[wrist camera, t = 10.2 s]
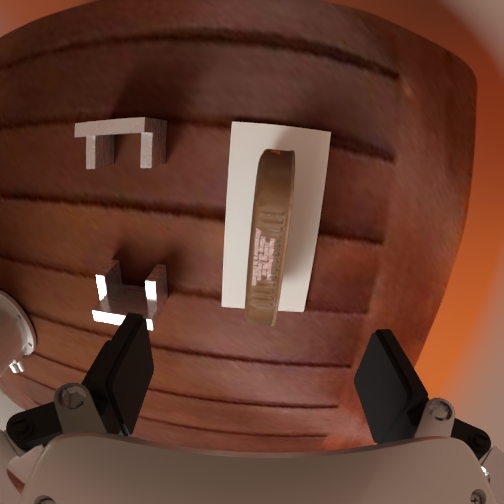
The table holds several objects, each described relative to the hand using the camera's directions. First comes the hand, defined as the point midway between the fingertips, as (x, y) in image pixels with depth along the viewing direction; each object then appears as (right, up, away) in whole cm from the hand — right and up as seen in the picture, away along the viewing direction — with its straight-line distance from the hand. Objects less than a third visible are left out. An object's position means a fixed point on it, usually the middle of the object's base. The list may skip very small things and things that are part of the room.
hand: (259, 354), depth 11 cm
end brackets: (-12, +8, +17) cm, 22 cm away
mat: (+2, +7, +17) cm, 19 cm away
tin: (+1, +7, +17) cm, 18 cm away
